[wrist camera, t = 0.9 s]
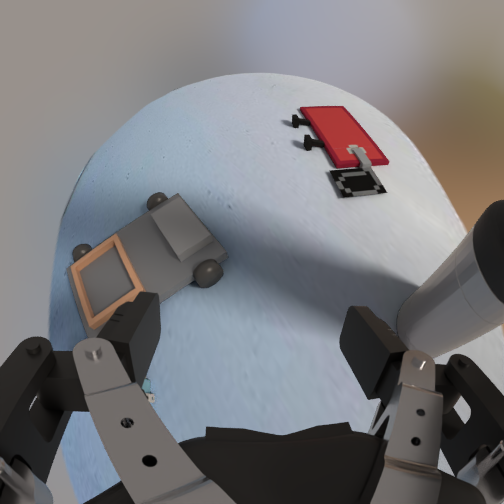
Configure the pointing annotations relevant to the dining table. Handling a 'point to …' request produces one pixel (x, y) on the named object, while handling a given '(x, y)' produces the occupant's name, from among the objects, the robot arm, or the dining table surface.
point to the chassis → (144, 261)
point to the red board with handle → (344, 148)
